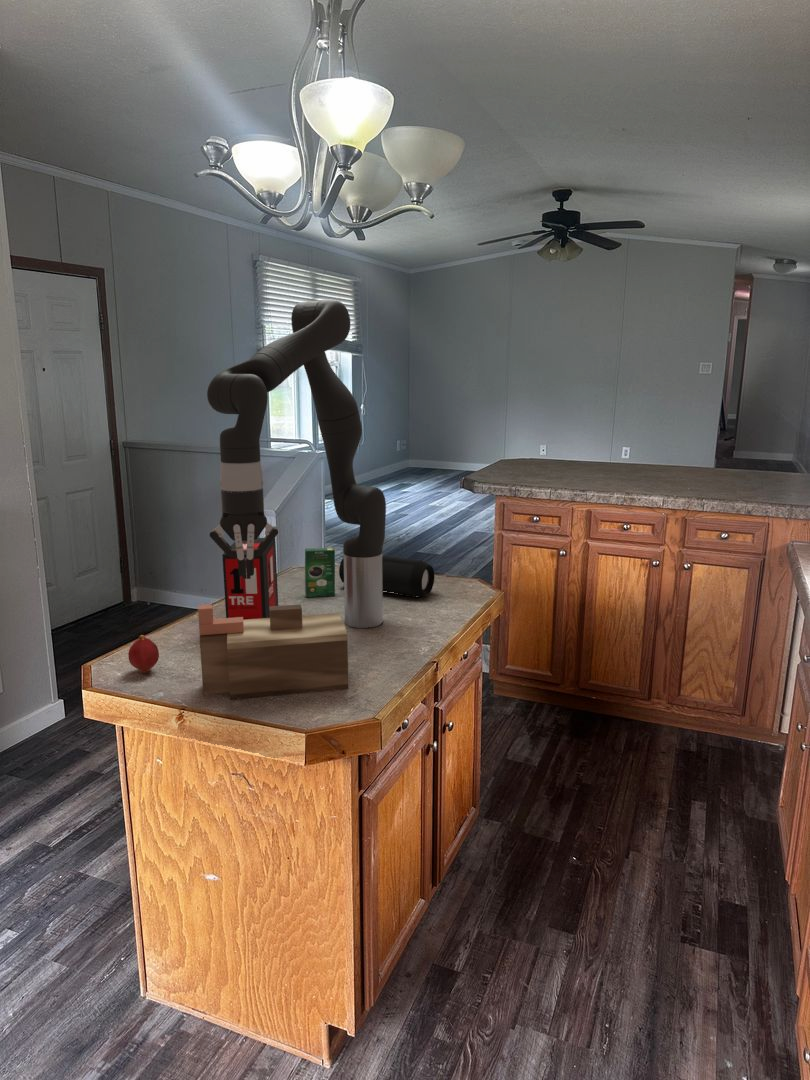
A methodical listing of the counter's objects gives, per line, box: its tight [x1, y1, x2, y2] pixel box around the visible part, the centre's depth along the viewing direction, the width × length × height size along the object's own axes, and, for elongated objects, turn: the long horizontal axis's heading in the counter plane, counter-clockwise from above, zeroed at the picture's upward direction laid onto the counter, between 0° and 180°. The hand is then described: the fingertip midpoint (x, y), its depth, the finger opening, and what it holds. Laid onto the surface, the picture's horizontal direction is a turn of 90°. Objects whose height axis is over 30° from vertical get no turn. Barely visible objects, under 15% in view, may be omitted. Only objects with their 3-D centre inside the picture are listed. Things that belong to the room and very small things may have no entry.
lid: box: [227, 604, 349, 650], centre depth 140 cm, size 13×22×6 cm, turn 102°
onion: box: [128, 634, 160, 674], centre depth 147 cm, size 6×6×8 cm
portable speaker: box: [338, 555, 435, 598], centre depth 200 cm, size 26×10×10 cm, turn 63°
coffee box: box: [304, 547, 336, 598], centre depth 196 cm, size 8×3×13 cm, turn 102°
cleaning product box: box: [222, 537, 279, 620], centre depth 171 cm, size 16×9×20 cm, turn 0°
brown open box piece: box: [199, 633, 349, 701], centre depth 141 cm, size 12×27×11 cm, turn 102°
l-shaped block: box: [197, 603, 244, 636], centre depth 137 cm, size 3×8×5 cm, turn 102°
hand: (246, 577), depth 137 cm, fingers closed
